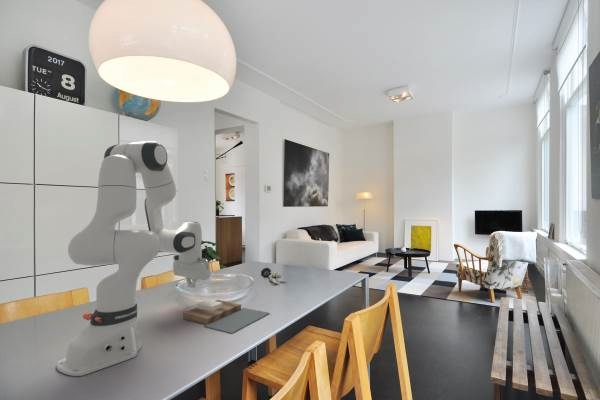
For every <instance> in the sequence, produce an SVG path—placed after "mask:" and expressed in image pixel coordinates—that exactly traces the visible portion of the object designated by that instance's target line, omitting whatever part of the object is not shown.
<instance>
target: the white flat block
mask: <svg viewBox="0 0 600 400" xmlns="http://www.w3.org/2000/svg"><path fill="white" fill-rule="evenodd" d="M196 308H199V309H203V310H208V311H215V310H217V309H220V308H222V302H216V300H211V299H205V300H203V301H200V302H197V303H196Z"/></svg>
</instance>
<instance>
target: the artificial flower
mask: <svg viewBox="0 0 600 400" xmlns="http://www.w3.org/2000/svg"><path fill="white" fill-rule="evenodd" d="M260 276H261V277H262V278H264V279H265V278H268V282H269V283H272V284H273V283H274V284H277V285H278V286H281V285H282V283H281V282H280V280H278V279H281V278H282V277H283V274H281V273H278V272H276V271H274V270H273V271H272V269H270V268H269V267H263V269H262V270H261V271H260Z"/></svg>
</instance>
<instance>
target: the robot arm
mask: <svg viewBox="0 0 600 400" xmlns="http://www.w3.org/2000/svg"><path fill="white" fill-rule="evenodd" d="M136 174H141V179H142V182H143V183H142V184H143V186H144V191H145V199H144V212H145V217H146V222H147V227H148V230H146V229H139V228H138V229H115V228H116V225H117V224H118V223H119V222H120V221H124V220H125V219H128V218H130V216H132V215H134V213H135V212H136V211H137V176H136ZM97 185H98V186H97V200H96V201H97V202H96V207H95V208H96V209H95V213H94V215H93V217H92V219H91V221H90V222H89V224H88V225H87V226H86V227H84V228H83V229H82V230H81V231H80V232H78V233H76V234H75V235H74V236H73V237H72V238H71V240H70V241H69V242H68V243H69V244H68V246H67V247H68V248H67V253H68V256H69V259H70V260H71V261H72V262H73V263H74V264H76V265H82V266H90V267H91V266H106V265H107V266H108V265H118V266H119V267H118V270H117V271H115V272H113V273H111V274H110V275H108V276H106V277H105V278H102V279H101V280H100V281H99V282H98V284H97V285H96V302H95V303H96V306H95V307H96V309H95V310H94V312H93V313H90V312H84V314H83V315H82V319H83V320H86V321H89V324H88V325H87V326H86V327H85V328H84V329H82V331H80V332H79V333H78V334H77V335H76V336H75V337H74V338H73V339H72V340H71V341H69V343H68V345H67V350H66V355H65V357H63V358H61V359H59V360H57V363H56V370H57V371H58V372H61V373H62V374H64V375H67V376H71V377H72V376H73V377H79V376H80V377H82V376H86V375H88V374H92V373H94V372H97V371H99V370H103V369H105V368H108V367H110V366H113V365H116V364H118V363H121V362H125V361H127V360H131V359H133V358H136V357H137V355H138V351H140V349H141V347H142V342H141V340H140V337H139V331H138V324H137V318H138V304H137V303H136V301H137V298H136V297H137V285H138V281H139V277H140V276H141V273H142V271H143V269H144V268H145V267H146V266H147V265H148V264H149V263H150V262H151V261H152V260H154V259H155V258H156V257H157V255H158V254H159V253H171V254H172V253H173V254H174V253H175V254H174V255H173V256H172V259H173V263H172V269H173V270H172V273H173V275H174V276H178V277H183V278H185V281H186V283H187V287H188V288H190V289H195V288H196V283H197V282H198V281H200V280H201V281H208V280H209V279H210V278H211V266H210V261H208V259H207V258H203V249H202V241H203V237H202V235H203V232H202V227H201V226H202V225H201V223H199V222H198V221H190V220H185V221H182V225H180V226H179V227H178V228H176V229H167V228H166V227H165V226H164V221H163V216H162V209H163V207H164V206H166V205H169V204H170V203H172V201H174V198H175V197H176V194H177V188H176V184H175V180H174V177H173V174H172V171H171V169H170V167H169V165H168V152H167V150H166V148H165V147H164V145H162V143H160V142H158V141H154V140H147V141H130V142H124V143H121V144H118V143H117V144H113V145H111V146H109V147H107V148H106V150H105V152H104V155H103V160H102V162H101V166H100V168H99V173H98V183H97Z"/></svg>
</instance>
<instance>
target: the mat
mask: <svg viewBox="0 0 600 400" xmlns="http://www.w3.org/2000/svg"><path fill="white" fill-rule="evenodd" d="M268 315H270V312H268V311H261V310H257V309H252V308H247V307H241V309H240V310H238V311H236V312H234V313H231V314H229V315H227V316H225V317H222V318H220V319H218V320H216V321H214V322H211V323H209V324H207V325H205V324H204V326H203V328H206V329H210V330H213V331H215V330H216V331H219V332H223V333H227V334H231V335H233V334H235V333H236V332H238V331H241V330H242V329H245V327H247V326H250V325H251V324H253V323H255V322H256V321H260V320H261V319H263V318H264V317H267V316H268Z"/></svg>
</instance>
